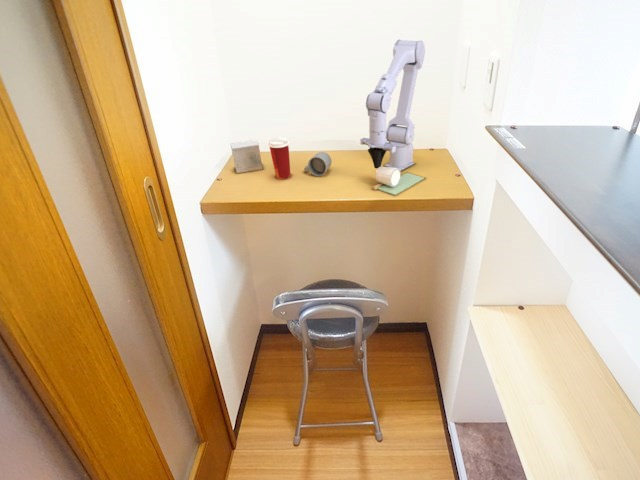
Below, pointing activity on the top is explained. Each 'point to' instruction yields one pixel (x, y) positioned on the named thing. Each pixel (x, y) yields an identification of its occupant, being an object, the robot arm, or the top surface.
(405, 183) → the mat
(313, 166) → the ceramic mug
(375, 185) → the stop batten
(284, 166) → the paper cup
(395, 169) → the beige short cylinder
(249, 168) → the grey concrete block
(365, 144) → the robot arm
